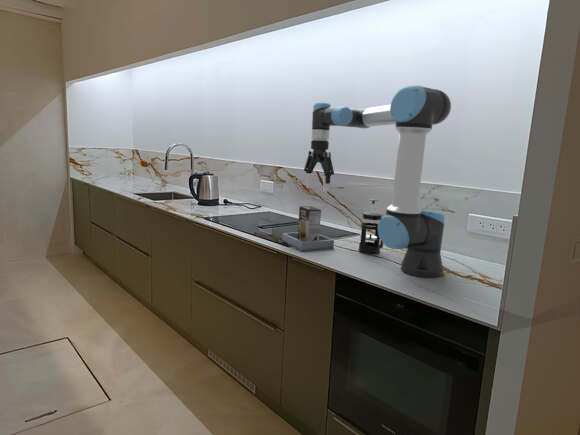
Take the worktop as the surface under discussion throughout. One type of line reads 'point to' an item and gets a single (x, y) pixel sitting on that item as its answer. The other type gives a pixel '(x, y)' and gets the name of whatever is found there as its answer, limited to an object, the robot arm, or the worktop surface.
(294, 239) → the bin
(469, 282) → the worktop surface
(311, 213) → the coffee box
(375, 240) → the french press
